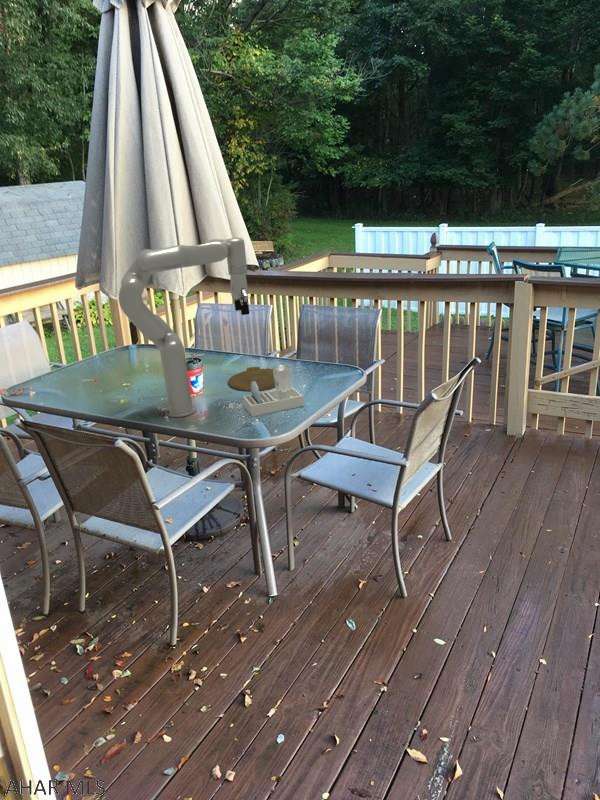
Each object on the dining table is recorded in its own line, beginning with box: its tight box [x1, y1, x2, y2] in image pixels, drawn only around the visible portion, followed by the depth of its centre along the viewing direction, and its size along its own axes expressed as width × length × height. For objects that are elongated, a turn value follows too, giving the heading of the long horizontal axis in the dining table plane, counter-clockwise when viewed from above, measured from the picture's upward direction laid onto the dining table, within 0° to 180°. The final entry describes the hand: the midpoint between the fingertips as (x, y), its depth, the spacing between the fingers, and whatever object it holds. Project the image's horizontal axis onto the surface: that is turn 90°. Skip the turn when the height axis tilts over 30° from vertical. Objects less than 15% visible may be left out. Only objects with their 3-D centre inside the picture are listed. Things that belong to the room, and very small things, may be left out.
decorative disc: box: [227, 366, 276, 393], centre depth 291 cm, size 29×3×30 cm
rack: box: [242, 381, 305, 417], centre depth 256 cm, size 22×13×12 cm, turn 110°
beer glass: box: [272, 365, 292, 400], centre depth 256 cm, size 7×7×15 cm
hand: (242, 312), depth 253 cm, fingers open, 9 cm apart
